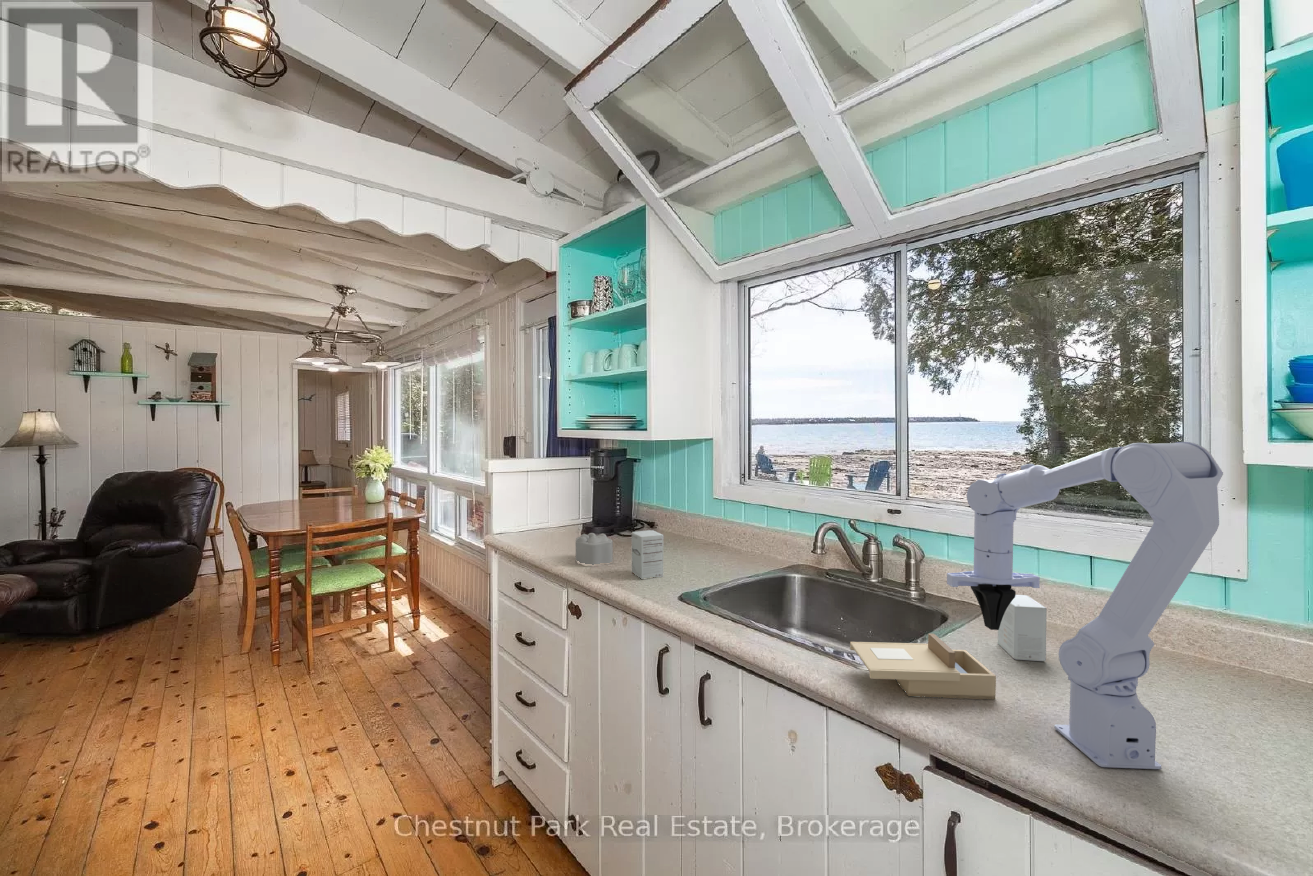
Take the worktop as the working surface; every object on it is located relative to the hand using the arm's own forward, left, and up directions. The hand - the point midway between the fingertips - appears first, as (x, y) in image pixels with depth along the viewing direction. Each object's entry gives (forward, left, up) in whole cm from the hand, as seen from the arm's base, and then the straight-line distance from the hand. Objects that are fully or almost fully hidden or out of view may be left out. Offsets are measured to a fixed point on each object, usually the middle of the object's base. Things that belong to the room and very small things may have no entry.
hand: (991, 627), depth 94 cm
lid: (+1, +15, -7) cm, 16 cm away
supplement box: (+63, +65, -11) cm, 91 cm away
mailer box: (+1, +9, -10) cm, 13 cm away
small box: (+15, -13, -11) cm, 22 cm away
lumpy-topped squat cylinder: (+77, +84, -11) cm, 114 cm away
